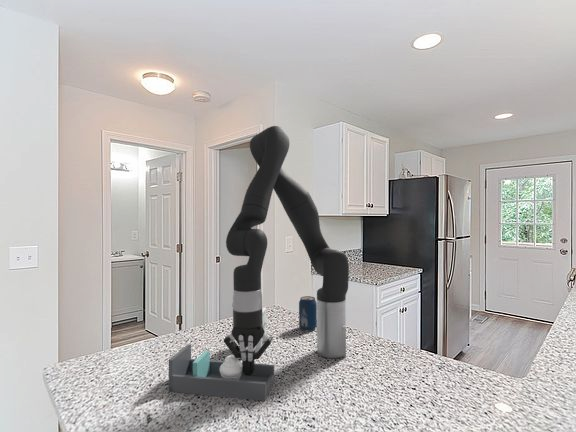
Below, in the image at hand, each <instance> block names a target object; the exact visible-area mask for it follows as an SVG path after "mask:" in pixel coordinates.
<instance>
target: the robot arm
mask: <svg viewBox="0 0 576 432" xmlns="http://www.w3.org/2000/svg"><path fill="white" fill-rule="evenodd" d="M289 149H290V137H289V135H288V133H287V132H286V130H284V128H283V127H281V126H279V125H272V126H269V127H267V128H265V129H264V130H262V131H260V132H258V134H255V135H253V137H251V139H250V141H249V150H250V153H251V155H252V157H253V159H254V161H255V162H256V164H257V165H258V168H257V171H256V173H255V174H254V176H253V178H252V179H251V181H250V183H249V185H248V187H247V189H246V191H245V193H244V198H243V201H242V205H241V209H240V212H239V214H237V215H238V216H237V217H236V218H235V220H234V222H233V223H232V225H231V227H230V228H229V230H228V232H227V234H226V238H225V246H226V249H227V252H228V254H230V255H232V256H236V257H248V261H247V263H246V264H242V265H241V264H240V265H238V266H236V267H235V268H234V269H233V291H232V292H233V294H232V303H231V304H232V305H231V306H232V327H233V328H232V330H231V331H230V334H227V335H226V336H225V337H224V338H223V342H224V344H225V345H226V347H227V348H228V350H229V351H230V353H232V354H231V355H234V356H235V358H238V359H240V360H241V362H242V368H243V369H242V370H243V373H245V375H248V376H251V374H252V373H253V372H254V369H255V364H256V362H255V361H256V360H260V358H261V357H262V355H263V354H264V353H265V352H266V350H267V349H268V348H269V347H270V345H271V343H272V341H274V340H273V337H272V336H268V335H267V334H266V335H265V334H264V333H265V331H264V329H263V320H262V308H263V294H262V269H263V265H264V260H265V256H266V253H267V248H268V239H267V234H266V233H265V232H264V230H262V229H261V228H260V229H259V228H254V227H256V226H260V225H262V224H264V223H265V222H266V219H267V216H268V211H269V207H270V203H271V199H272V198H271V197H272V195H273V191H274V193H275V194H276V196H277V197H278V199H279V202H280V203H281V205H282V208H283V210H284V212H285V213H286V215H287V217H288V219H289V220H290V222H291V224H292V227H294V230H295V231H296V233H297V234H298V237H299V238H300V240H301V242H302V243H303V246H304V247H305V251H306V253H307V256H308V258H309V261H310V263H311V265H312V268H313V270H314V271H315V272H316V273H317V275H319V276H322V287H320V288H319V289H318V290H316V302H317V326H316V349H317V350H316V351H317V352H316V353H317V354H318V355H319V356H321V357H323V358H328V359H338V358H346V357H347V322H346V321H347V319H346V318H347V315H346V312H347V311H346V309H347V308H346V303H347V302H346V296H347V292H348V290H349V279H350V278H349V277H350V275H349V274H350V266H349V260H348V257H347V255H346V254H345V253H344V252H343V251H341V250H338V249H332V248H331V247H330V246H329V245H328V243H327V241H326V239H325V238H324V236H323V234H322V233H323V232H322V230H321V226H320V225H321V224H320V217H319V216H320V215H319V211H318V208H317V206H316V204H315V202H314V200H313V198H312V196H311V194H310V192H309V191H308V189H306V188H305V187H304V186H303V185H302V184H300V183H299V182H297V181H296V180H295V179H294V178H293V177H291V176H289V174H288V173H287V172H286V171H285V170H284V167H282V166H283V164H284V162H285V160H286V157H287V155H288V152H289ZM261 338H262V339H263V340H262V344H263V345H262V347H261V348H260V349H259V350H258V352H255V349H256V345H257V344H258V343H259V341H260V340H261Z"/></svg>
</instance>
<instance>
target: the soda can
mask: <svg viewBox="0 0 576 432" xmlns="http://www.w3.org/2000/svg"><path fill="white" fill-rule="evenodd" d="M298 325H299V328H300V330H302V331H304V332H312V331H315V330H316V329H317V299H316V298H315V297H314V296H306V295H304V296H301V297H300V299H299V302H298Z"/></svg>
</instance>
